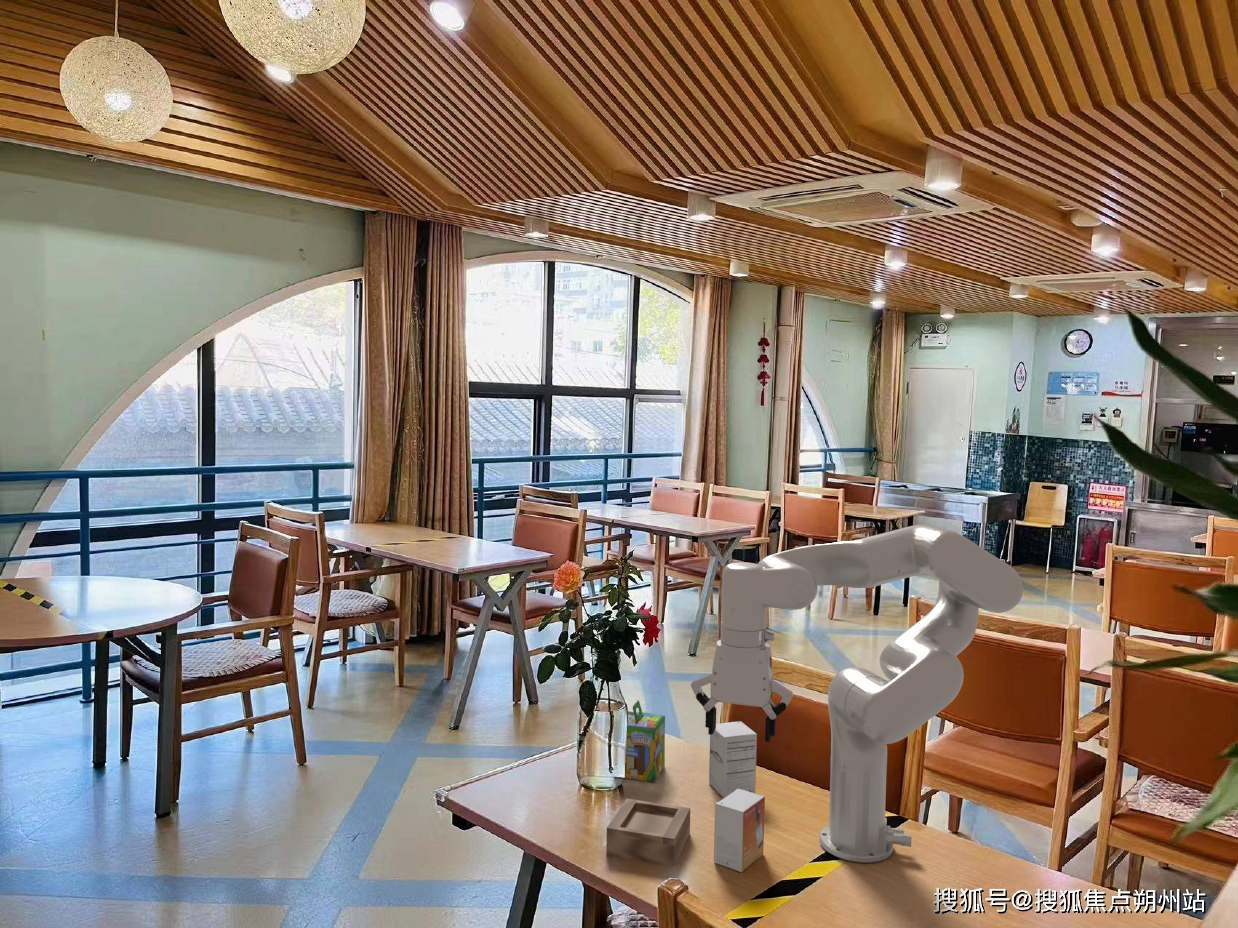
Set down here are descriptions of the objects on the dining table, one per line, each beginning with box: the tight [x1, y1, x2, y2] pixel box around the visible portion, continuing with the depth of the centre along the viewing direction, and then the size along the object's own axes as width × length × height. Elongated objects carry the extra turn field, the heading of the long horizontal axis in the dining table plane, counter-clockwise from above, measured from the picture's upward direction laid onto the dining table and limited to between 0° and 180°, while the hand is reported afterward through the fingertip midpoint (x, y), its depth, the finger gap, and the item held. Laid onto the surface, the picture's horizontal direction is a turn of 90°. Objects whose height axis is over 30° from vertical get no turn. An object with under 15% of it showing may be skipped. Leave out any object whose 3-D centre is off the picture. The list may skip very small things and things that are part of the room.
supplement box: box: [708, 720, 758, 799], centre depth 181 cm, size 7×7×13 cm
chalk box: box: [624, 700, 666, 783], centre depth 189 cm, size 9×9×15 cm
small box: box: [713, 789, 766, 873], centre depth 154 cm, size 8×6×10 cm
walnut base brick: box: [605, 798, 691, 867], centre depth 159 cm, size 12×12×5 cm
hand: (739, 735), depth 152 cm, fingers open, 9 cm apart
